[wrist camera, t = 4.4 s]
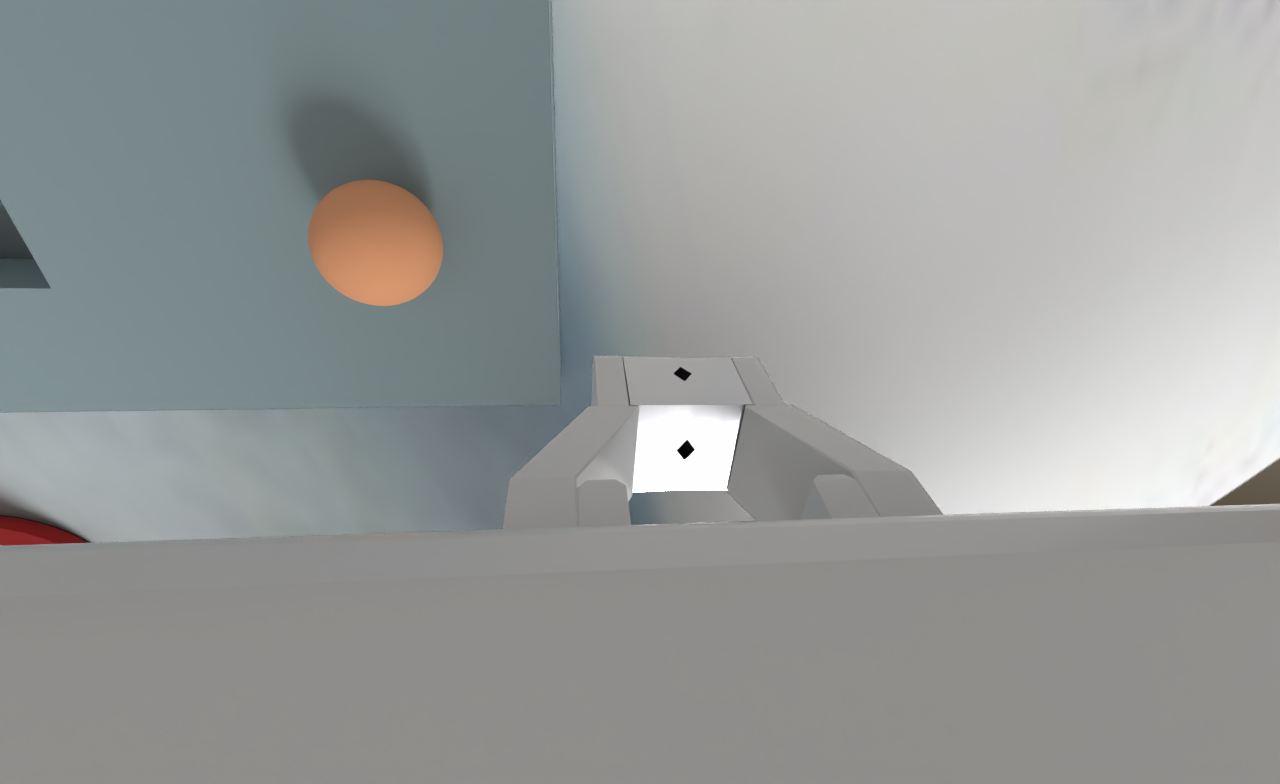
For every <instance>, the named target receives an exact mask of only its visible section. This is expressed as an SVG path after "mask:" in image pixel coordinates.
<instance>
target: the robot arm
mask: <svg viewBox="0 0 1280 784" xmlns="http://www.w3.org/2000/svg"><path fill="white" fill-rule="evenodd" d="M673 490H727V493H728V494H729V495H730V496H731V497H732V498H733V499H734V500H735V501H737V502H738V503H739V504H740V505H741V506H742V507H743V508H744V509H745V510H746V511H747V512H748V513H749V514H750V515H751V516H752V517H753V518H754V519H755V520H756V521H741V522H710V523H680V524H649V525H631V519H630V511H629V504H628V502H629V500H630V499H631V497H632V495H633V493H635V492H654V491H673ZM0 784H1280V504H1263V505H1231V506H1201V507H1170V508H1138V509H1106V510H1075V511H1044V512H1014V513H984V514H953V515H943V514H942V512H941V511H940V510H939V508H938V507H937V506H936V504H935V503H934V502H933V500H932V499H931V497H930V496H929V495H928V493H927V492H926V491H925V489H924V488H923V487H922V485H921V484H920V483H919V481H918V480H917V479H916V477H915V476H914V475H913V473H912V472H911V471H909V470H908V469H906V468H904V467H902V466H901V465H899V464H897V463H895V462H893V461H892V460H890V459H888V458H886V457H884V456H883V455H881V454H879V453H877V452H876V451H874V450H872V449H870V448H868V447H867V446H865V445H863V444H861V443H860V442H858V441H856V440H854V439H852V438H851V437H849V436H847V435H845V434H844V433H842V432H840V431H838V430H836V429H835V428H833V427H831V426H829V425H828V424H826V423H824V422H822V421H820V420H819V419H817V418H815V417H813V416H811V415H810V414H808V413H806V412H804V411H803V410H801V409H799V408H797V407H795V406H794V405H784V403H783V401H782V399H781V398H780V396H779V394H778V392H777V390H776V389H775V387H774V385H773V383H772V382H771V380H770V378H769V376H768V374H767V373H766V371H765V369H764V367H763V366H762V364H761V362H760V360H759V359H758V358H757V357H755V356H741V357H688V358H676V357H643V356H622V357H621V356H620V355H618V356H593V362H592V399H591V406H588V407H587V408H586V409H585V410H584V411H582V412H581V413H580V414H579V415H578V416H577V417H576V418H575V419H574V420H573V421H572V422H571V423H570V424H568V425H567V426H566V427H565V428H564V429H563V430H562V431H561V432H560V433H559V434H558V435H557V436H556V437H555V438H553V439H552V440H551V441H550V442H549V443H548V444H547V445H546V446H545V447H544V448H543V449H542V450H541V451H539V452H538V453H537V454H536V455H535V456H534V457H533V458H532V459H531V460H530V461H529V462H528V463H527V464H526V465H524V466H523V467H522V468H521V469H520V470H519V471H518V472H517V473H516V474H515V475H514V476H513V477H512V478H510V479H509V485H508V492H507V500H506V507H505V514H504V521H503V528H502V529H496V530H466V531H435V532H404V533H374V534H343V535H313V536H282V537H252V538H221V539H191V540H161V541H131V542H100V543H70V544H40V545H10V546H0Z"/></svg>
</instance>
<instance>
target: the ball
mask: <svg viewBox="0 0 1280 784" xmlns="http://www.w3.org/2000/svg"><path fill="white" fill-rule="evenodd" d="M308 242H309V248H310V252H311V255H312V258H313V261H314V263H315V265H316V267H317V269H318V270H319V272H320V273H321V275H322V276H323V277H324V278H325V280H326V281H327V282H328V283H329V284H330V285H331V286H332V287H334V288H335V289H336V290H337V291H339V292H340V293H342V294H343V295H345V296H347V297H349V298H351V299H353V300H355V301H358V302H361V303H364V304H369V305H376V306H391V305H397V304H401V303H404V302H407V301H410V300H412V299H414V298H416V297H417V296H419V295H420V294H422V293H423V292H424V291H425V290H426V289H427V288H428V287H429V286H430V285H431V284H432V282H433V281H434V280H435V278H436V276H437V274H438V272H439V269H440V267H441V263H442V258H443V242H442V236H441V232H440V229H439V227H438V224H437V222H436V220H435V218H434V217H433V215H432V214H431V212H430V211H429V210H428V208H427V207H426V206H425V205H424V204H423V203H422V202H421V201H420V200H419V199H418V198H417V197H415V196H414V195H413V194H412V193H410V192H408V191H407V190H405V189H403V188H401V187H399V186H397V185H394V184H391V183H388V182H384V181H379V180H359V181H353V182H349V183H346V184H343V185H341V186H339V187H337V188H335V189H333V190H332V191H331V192H329V193H328V194H327V195H326V196H325V197H324V198H323V199H322V200H321V201H320V202H319V204H318V205H317V207H316V208H315V210H314V212H313V215H312V217H311V220H310V224H309V231H308Z"/></svg>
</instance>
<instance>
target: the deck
mask: <svg viewBox="0 0 1280 784" xmlns="http://www.w3.org/2000/svg"><path fill="white" fill-rule="evenodd" d="M359 180H379V181H384V182H388V183H391V184H394V185H397V186H399V187H401V188H403V189H405V190H407V191H408V192H410V193H412V194H413V195H414V196H415V197H417V198H418V199H419V200H420V201H421V202H422V203H423V204H424V205H425V206H426V207H427V208H428V210H429V211H430V212H431V214H432V215H433V217H434V218H435V220H436V222H437V224H438V227H439V229H440V232H441V236H442V242H443V258H442V263H441V267H440V269H439V272H438V274H437V276H436V278H435V280H434V281H433V282H432V284H431V285H430V286H429V287H428V288H427V289H426V290H425V291H424V292H423V293H422V294H420V295H419V296H417V297H416V298H414V299H412V300H410V301H407V302H404V303H401V304H397V305H391V306H376V305H369V304H364V303H361V302H358V301H355V300H353V299H351V298H349V297H347V296H345V295H343V294H342V293H340V292H339V291H337V290H336V289H335V288H334V287H332V286H331V285H330V284H329V283H328V282H327V281H326V280H325V278H324V277H323V276H322V275H321V273H320V272H319V270H318V269H317V267H316V265H315V263H314V261H313V258H312V255H311V252H310V248H309V242H308V231H309V224H310V220H311V217H312V215H313V212H314V210H315V208H316V207H317V205H318V204H319V202H320V201H321V200H322V199H323V198H324V197H325V196H326V195H327V194H328V193H329V192H331V191H332V190H333V189H335V188H337V187H339V186H341V185H343V184H346V183H349V182H353V181H359ZM0 200H1V202H2V204H3V205H4V207H5V209H6V211H7V212H8V214H9V216H10V218H11V219H12V221H13V223H14V225H15V226H16V228H17V230H18V232H19V233H20V235H21V237H22V238H23V240H24V242H25V244H26V245H27V247H28V249H29V251H30V252H31V254H32V256H33V258H34V259H16V258H0V413H6V412H81V411H156V410H231V409H307V408H382V407H457V406H532V405H560V404H561V338H560V301H559V264H558V226H557V189H556V152H555V114H554V77H553V40H552V2H551V0H0Z"/></svg>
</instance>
